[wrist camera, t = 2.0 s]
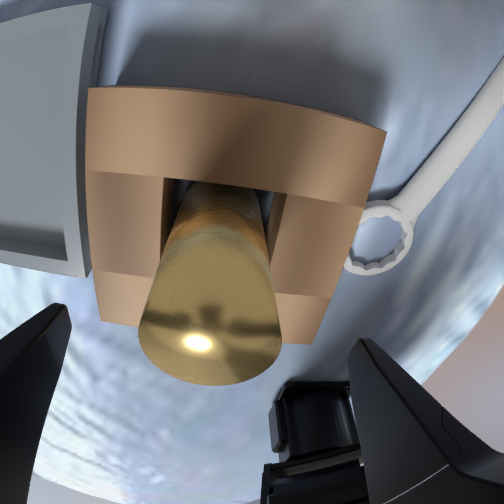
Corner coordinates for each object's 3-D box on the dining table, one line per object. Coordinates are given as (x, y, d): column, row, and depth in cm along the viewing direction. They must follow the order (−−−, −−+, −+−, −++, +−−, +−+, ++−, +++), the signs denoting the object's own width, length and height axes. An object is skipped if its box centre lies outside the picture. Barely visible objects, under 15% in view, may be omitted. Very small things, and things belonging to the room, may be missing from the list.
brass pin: (266, 180, 15) (298, 297, 8) (252, 249, 17) (265, 389, 10) (185, 169, 15) (133, 278, 7) (179, 239, 17) (143, 376, 9)
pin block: (360, 120, 14) (386, 131, 11) (302, 310, 20) (311, 344, 17) (115, 84, 12) (88, 88, 10) (115, 288, 18) (100, 320, 16)
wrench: (547, 45, 10) (515, -11, 8) (561, 48, 9) (529, -12, 7) (368, 282, 20) (312, 241, 18) (377, 297, 18) (318, 256, 16)
